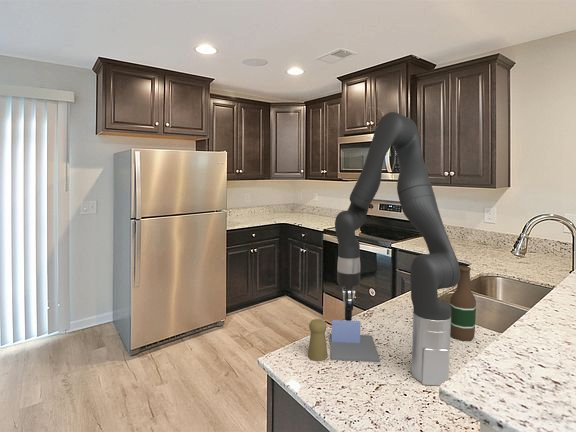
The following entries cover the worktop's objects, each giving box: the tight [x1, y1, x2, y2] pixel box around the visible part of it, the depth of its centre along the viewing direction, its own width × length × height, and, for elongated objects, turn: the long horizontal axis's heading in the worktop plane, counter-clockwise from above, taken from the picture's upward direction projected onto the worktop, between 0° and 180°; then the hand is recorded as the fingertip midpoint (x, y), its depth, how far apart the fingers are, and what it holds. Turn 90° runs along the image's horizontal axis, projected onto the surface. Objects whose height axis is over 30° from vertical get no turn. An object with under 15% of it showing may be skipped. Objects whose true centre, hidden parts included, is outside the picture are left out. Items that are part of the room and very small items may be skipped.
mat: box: [329, 333, 381, 363], centre depth 107 cm, size 16×14×1 cm
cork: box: [307, 318, 329, 362], centre depth 102 cm, size 6×6×11 cm
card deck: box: [331, 319, 361, 343], centre depth 110 cm, size 2×9×6 cm, turn 84°
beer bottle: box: [449, 265, 477, 342], centre depth 114 cm, size 8×8×24 cm
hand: (348, 319), depth 116 cm, fingers closed
